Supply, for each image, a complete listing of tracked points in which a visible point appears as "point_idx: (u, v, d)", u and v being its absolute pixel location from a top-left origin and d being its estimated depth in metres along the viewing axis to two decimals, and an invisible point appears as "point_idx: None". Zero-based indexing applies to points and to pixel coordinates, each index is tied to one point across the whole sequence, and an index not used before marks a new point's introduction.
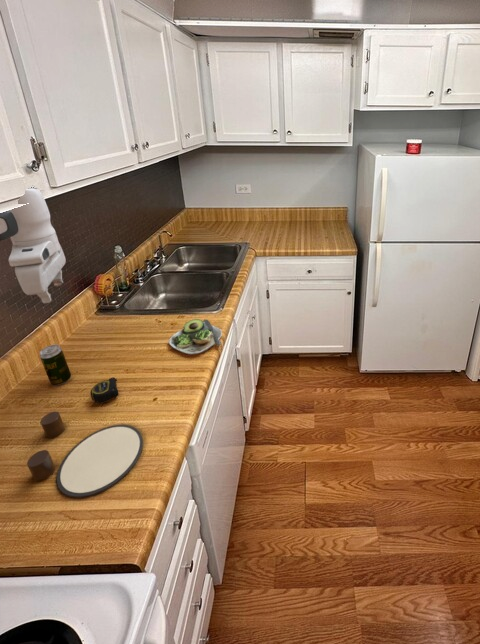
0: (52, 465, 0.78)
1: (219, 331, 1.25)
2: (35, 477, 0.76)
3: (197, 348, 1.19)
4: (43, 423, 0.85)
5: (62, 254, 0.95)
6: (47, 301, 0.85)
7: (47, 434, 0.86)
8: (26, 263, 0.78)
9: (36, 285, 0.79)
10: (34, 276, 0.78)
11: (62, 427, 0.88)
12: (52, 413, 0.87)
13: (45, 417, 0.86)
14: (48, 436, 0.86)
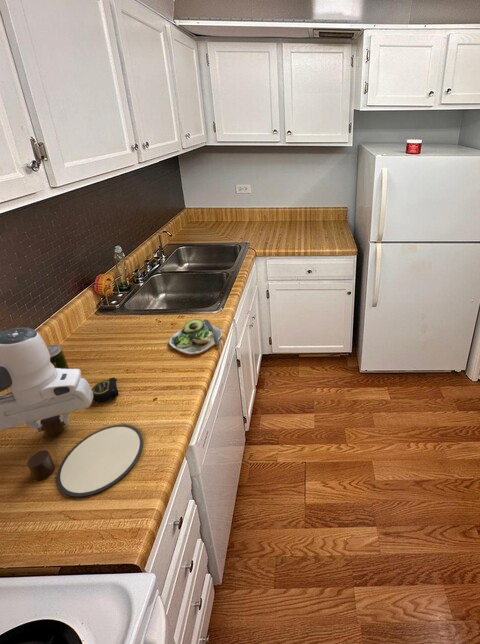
0: (52, 465, 0.78)
1: (219, 331, 1.25)
2: (35, 477, 0.76)
3: (197, 348, 1.19)
4: (43, 423, 0.85)
5: None
6: (68, 420, 0.88)
7: (47, 434, 0.86)
8: (79, 380, 0.86)
9: (91, 392, 0.89)
10: (87, 385, 0.88)
11: (62, 427, 0.88)
12: None
13: None
14: (48, 436, 0.86)
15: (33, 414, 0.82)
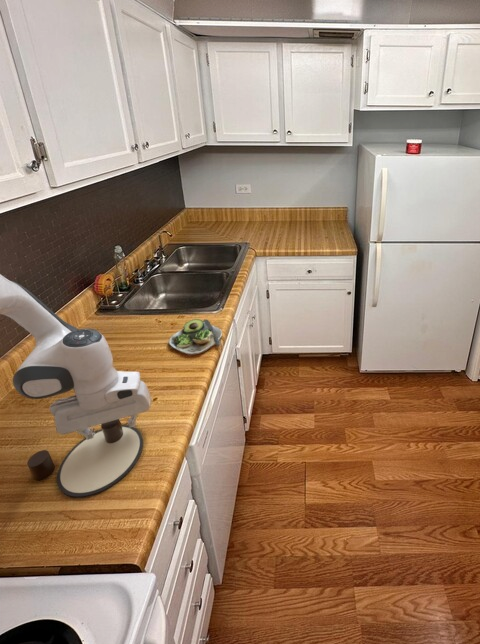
0: (52, 465, 0.78)
1: (219, 331, 1.25)
2: (35, 477, 0.76)
3: (197, 348, 1.19)
4: (104, 428, 0.83)
5: None
6: (135, 422, 0.87)
7: (107, 439, 0.84)
8: (140, 383, 0.83)
9: (149, 395, 0.87)
10: (146, 388, 0.86)
11: (121, 432, 0.86)
12: None
13: None
14: (108, 441, 0.84)
15: (95, 418, 0.80)
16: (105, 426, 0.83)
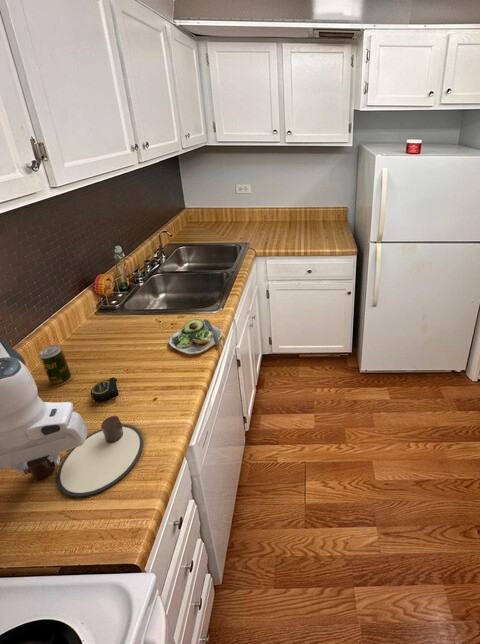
0: None
1: (219, 331, 1.25)
2: (35, 477, 0.76)
3: (197, 348, 1.19)
4: (104, 428, 0.83)
5: None
6: (59, 460, 0.78)
7: (107, 439, 0.84)
8: (71, 415, 0.76)
9: (85, 427, 0.79)
10: (81, 420, 0.78)
11: (121, 432, 0.86)
12: (111, 417, 0.85)
13: (105, 422, 0.84)
14: (108, 441, 0.84)
15: (18, 456, 0.72)
16: (105, 426, 0.83)
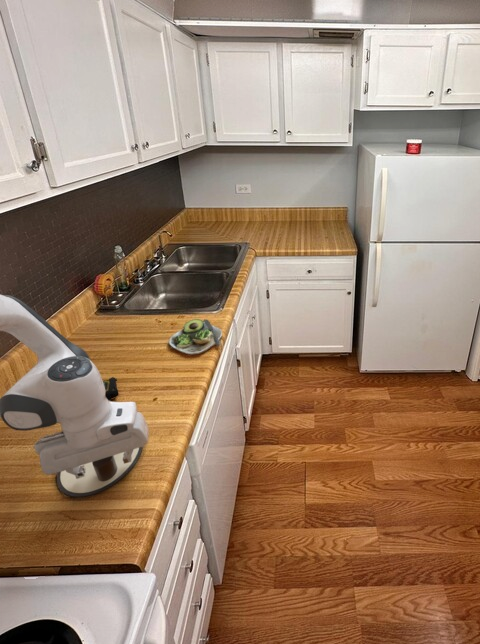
0: (115, 465, 0.77)
1: (219, 331, 1.25)
2: (100, 477, 0.75)
3: (197, 348, 1.19)
4: None
5: None
6: (131, 457, 0.78)
7: None
8: (136, 415, 0.75)
9: (147, 427, 0.78)
10: (143, 420, 0.77)
11: None
12: None
13: None
14: None
15: (85, 456, 0.72)
16: None
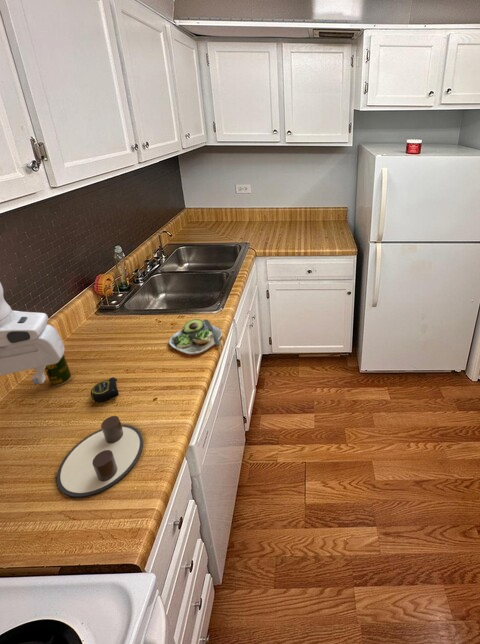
0: (115, 465, 0.77)
1: (219, 331, 1.25)
2: (100, 477, 0.75)
3: (197, 348, 1.19)
4: (104, 428, 0.83)
5: None
6: (44, 378, 0.69)
7: (107, 439, 0.84)
8: (44, 326, 0.65)
9: (61, 344, 0.68)
10: (56, 335, 0.67)
11: (121, 432, 0.86)
12: (111, 417, 0.85)
13: (105, 422, 0.84)
14: (108, 441, 0.84)
15: None
16: (105, 426, 0.83)
